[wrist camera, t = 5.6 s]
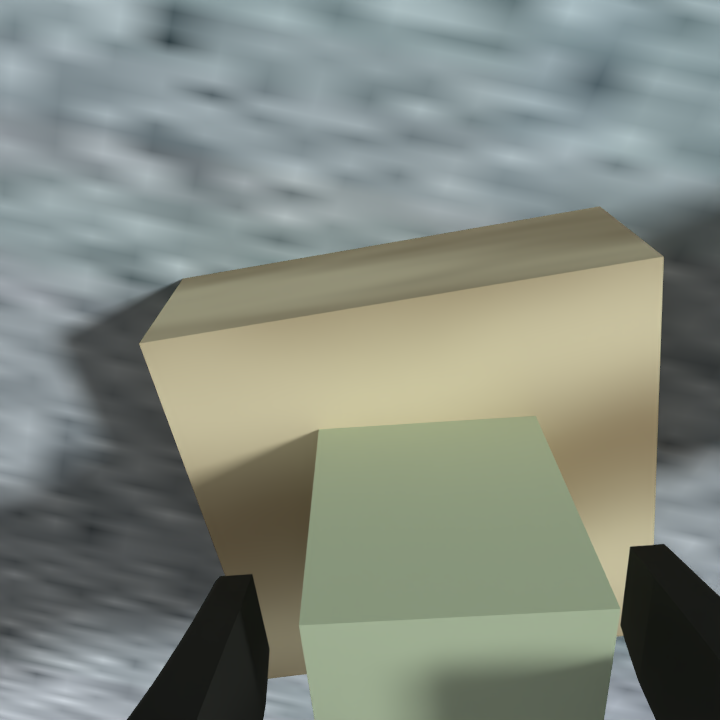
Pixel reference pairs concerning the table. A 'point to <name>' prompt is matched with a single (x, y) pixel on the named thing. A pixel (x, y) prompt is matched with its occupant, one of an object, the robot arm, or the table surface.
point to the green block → (451, 578)
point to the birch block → (413, 378)
